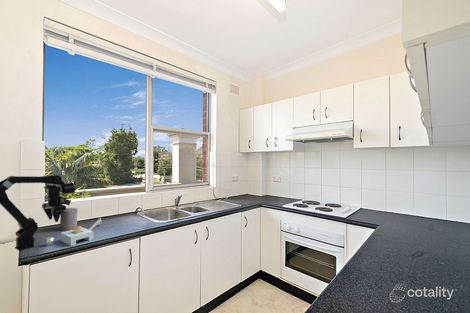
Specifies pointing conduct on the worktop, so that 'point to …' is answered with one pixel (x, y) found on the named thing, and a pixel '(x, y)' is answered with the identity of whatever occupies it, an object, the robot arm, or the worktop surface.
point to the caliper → (96, 223)
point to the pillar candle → (68, 219)
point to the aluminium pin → (49, 241)
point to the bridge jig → (76, 236)
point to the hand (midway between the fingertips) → (53, 220)
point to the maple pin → (77, 231)
